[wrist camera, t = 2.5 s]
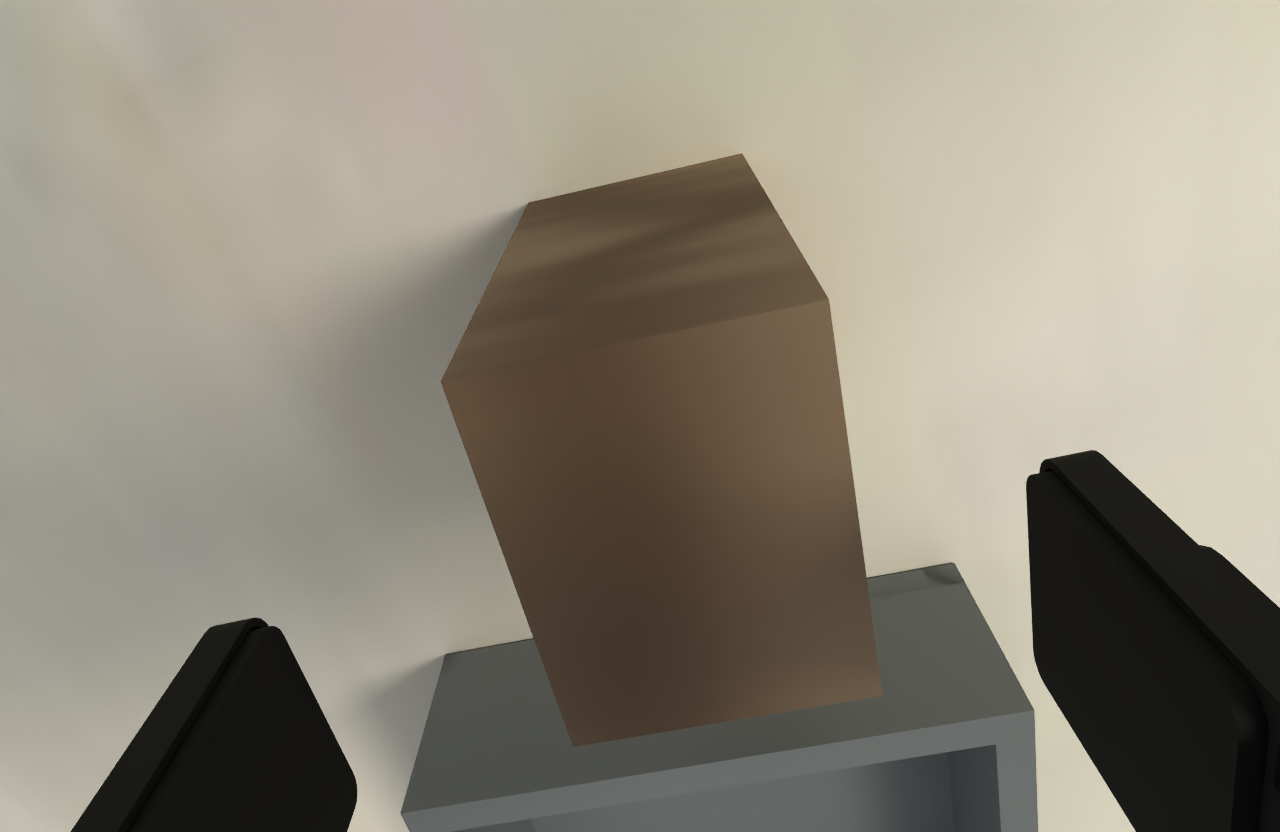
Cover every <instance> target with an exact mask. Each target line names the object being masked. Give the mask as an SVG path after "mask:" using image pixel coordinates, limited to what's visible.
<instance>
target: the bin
mask: <svg viewBox="0 0 1280 832" xmlns="http://www.w3.org/2000/svg"><path fill="white" fill-rule="evenodd" d="M867 585H868V593H869V600H870V607H871V615H872V622H873V629H874V637H875V644H876V652H877V659H878V666H879V674H880V681H881V689H882V696H878V697H872V698H866V699H860V700H854V701H848V702H842V703H836V704H830V705H824V706H818V707H812V708H806V709H800V710H794V711H788V712H782V713H776V714H770V715H764V716H758V717H752V718H746V719H740V720H734V721H728V722H722V723H716V724H710V725H704V726H698V727H692V728H686V729H680V730H674V731H668V732H662V733H656V734H650V735H644V736H638V737H632V738H626V739H620V740H614V741H608V742H602V743H596V744H590V745H584V746H578V747H573V746H572V743H571V740H570V737H569V734H568V732H567V729H566V726H565V723H564V721H563V718H562V715H561V712H560V710H559V707H558V704H557V701H556V699H555V696H554V693H553V690H552V687H551V685H550V682H549V679H548V676H547V674H546V671H545V668H544V665H543V663H542V660H541V657H540V654H539V651H538V649H537V646H536V643H535V640H534V639H530V640H525V641H519V642H514V643H508V644H503V645H497V646H492V647H486V648H481V649H475V650H469V651H464V652H458V653H453V654H447V655H445V659H444V662H443V666H442V669H441V673H440V676H439V680H438V683H437V687H436V690H435V694H434V697H433V701H432V704H431V708H430V711H429V715H428V718H427V722H426V725H425V729H424V733H423V736H422V740H421V743H420V747H419V750H418V754H417V757H416V761H415V764H414V768H413V771H412V775H411V778H410V782H409V785H408V789H407V792H406V796H405V799H404V803H403V807H402V810H401V815H402V817H403V819H404V821H405V823H406V825H407V827H408V829H409V831H410V832H1038V816H1037V784H1036V752H1035V720H1034V709H1033V707H1032V705H1031V703H1030V702H1029V700H1028V698H1027V696H1026V694H1025V692H1024V690H1023V689H1022V687H1021V685H1020V683H1019V681H1018V679H1017V678H1016V676H1015V674H1014V672H1013V670H1012V668H1011V667H1010V665H1009V663H1008V661H1007V659H1006V657H1005V655H1004V654H1003V652H1002V650H1001V648H1000V646H999V644H998V643H997V641H996V639H995V637H994V635H993V633H992V632H991V630H990V628H989V626H988V624H987V622H986V620H985V619H984V617H983V615H982V613H981V611H980V609H979V608H978V606H977V604H976V602H975V600H974V598H973V597H972V595H971V593H970V591H969V589H968V587H967V585H966V584H965V582H964V580H963V578H962V576H961V574H960V573H959V571H958V569H957V567H956V565H955V563H951V564H945V565H940V566H934V567H929V568H923V569H918V570H912V571H907V572H901V573H895V574H890V575H884V576H879V577H873V578H868V579H867Z"/></svg>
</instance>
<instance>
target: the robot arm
mask: <svg viewBox="0 0 1280 832" xmlns="http://www.w3.org/2000/svg"><path fill="white" fill-rule="evenodd" d="M1026 492H1027V515H1028V538H1029V561H1030V585H1031V608H1032V631H1033V651H1034V657H1035V662H1036V665H1037V668H1038V671H1039V674H1040V676H1041V678H1042V680H1043V682H1044V684H1045V686H1046V687H1047V689H1048V690H1049V692H1050V694H1051V695H1052V697H1053V698H1054V700H1055V702H1056V703H1057V705H1058V707H1059V708H1060V710H1061V711H1062V713H1063V715H1064V716H1065V718H1066V719H1067V721H1068V723H1069V724H1070V726H1071V727H1072V729H1073V731H1074V732H1075V734H1076V736H1077V737H1078V739H1079V740H1080V742H1081V744H1082V745H1083V747H1084V748H1085V750H1086V752H1087V753H1088V755H1089V756H1090V758H1091V760H1092V761H1093V763H1094V765H1095V766H1096V768H1097V769H1098V771H1099V773H1100V774H1101V776H1102V777H1103V779H1104V781H1105V782H1106V784H1107V786H1108V787H1109V789H1110V790H1111V792H1112V794H1113V795H1114V797H1115V798H1116V800H1117V802H1118V803H1119V805H1120V806H1121V808H1122V810H1123V811H1124V813H1125V815H1126V816H1127V818H1128V819H1129V821H1130V823H1131V824H1132V826H1133V827H1134V829H1135V831H1136V832H1280V608H1279V607H1278V606H1277V605H1276V604H1275V603H1274V602H1273V601H1271V600H1270V599H1269V598H1268V597H1267V596H1266V595H1265V594H1264V593H1263V592H1262V591H1261V590H1259V589H1258V588H1257V587H1256V586H1255V585H1254V584H1253V583H1252V582H1251V581H1250V580H1249V579H1247V578H1246V577H1245V576H1244V575H1243V574H1242V573H1241V572H1240V571H1239V570H1238V569H1237V568H1235V567H1234V566H1233V565H1232V564H1231V563H1230V562H1229V561H1228V560H1227V559H1226V558H1225V557H1223V556H1222V555H1221V554H1219V553H1218V552H1217V551H1215V550H1214V549H1212V548H1211V547H1206V546H1202V545H1198V544H1197V543H1196V542H1195V541H1194V540H1193V539H1192V538H1190V537H1189V536H1188V535H1187V534H1186V533H1185V532H1184V531H1183V530H1182V529H1181V528H1180V527H1179V526H1178V525H1177V524H1175V523H1174V522H1173V521H1172V520H1171V519H1170V518H1169V517H1168V516H1167V515H1166V514H1165V513H1164V512H1163V511H1162V510H1161V509H1159V508H1158V507H1157V506H1156V505H1155V504H1154V503H1153V502H1152V501H1151V500H1150V499H1149V498H1148V497H1147V496H1146V495H1144V494H1143V493H1142V492H1141V491H1140V490H1139V489H1138V488H1137V487H1136V486H1135V485H1134V484H1133V483H1132V482H1131V481H1130V480H1128V479H1127V478H1126V477H1125V476H1124V475H1123V474H1122V473H1121V472H1120V471H1119V470H1118V469H1117V468H1116V467H1115V466H1114V465H1112V464H1111V463H1110V462H1109V461H1108V460H1107V459H1106V458H1105V457H1104V456H1103V455H1102V454H1100V453H1099V452H1097V451H1094V450H1090V451H1085V452H1080V453H1075V454H1070V455H1065V456H1060V457H1055V458H1050V459H1045V460H1044V461H1043V462H1042V463H1041V467H1040V473H1038V474H1033V475H1030V476H1029V477H1028V479H1027V483H1026ZM356 802H357V784H356V779H355V776H354V774H353V772H352V770H351V768H350V766H349V764H348V762H347V760H346V758H345V756H344V754H343V752H342V750H341V748H340V746H339V744H338V742H337V740H336V738H335V736H334V734H333V732H332V730H331V728H330V726H329V724H328V722H327V720H326V718H325V716H324V714H323V712H322V710H321V708H320V706H319V704H318V702H317V700H316V698H315V696H314V694H313V692H312V690H311V688H310V686H309V684H308V682H307V680H306V678H305V676H304V674H303V672H302V670H301V668H300V666H299V664H298V662H297V660H296V658H295V656H294V654H293V653H292V651H291V649H290V647H289V645H288V643H287V641H286V639H285V637H284V635H283V633H282V632H281V630H280V629H278V628H277V627H275V626H268V624H267V623H266V622H265V621H263V620H262V619H260V618H251V619H246V620H241V621H236V622H231V623H226V624H221V625H216V626H213V627H211V628H209V629H208V630H207V631H206V632H205V633H204V635H203V636H202V638H201V639H200V641H199V642H198V644H197V645H196V647H195V648H194V650H193V651H192V653H191V654H190V656H189V657H188V659H187V660H186V662H185V663H184V665H183V666H182V668H181V669H180V671H179V672H178V673H177V675H176V676H175V678H174V679H173V681H172V682H171V684H170V685H169V687H168V688H167V690H166V691H165V693H164V694H163V696H162V697H161V699H160V700H159V702H158V703H157V705H156V706H155V708H154V709H153V711H152V712H151V713H150V715H149V716H148V718H147V719H146V721H145V722H144V724H143V725H142V727H141V728H140V730H139V731H138V733H137V734H136V736H135V737H134V739H133V740H132V742H131V743H130V745H129V746H128V748H127V749H126V751H125V752H124V753H123V755H122V756H121V758H120V759H119V761H118V762H117V764H116V765H115V767H114V768H113V770H112V771H111V773H110V774H109V776H108V777H107V779H106V780H105V782H104V783H103V785H102V786H101V788H100V789H99V791H98V792H97V793H96V795H95V796H94V798H93V799H92V801H91V802H90V804H89V805H88V807H87V808H86V810H85V811H84V813H83V814H82V816H81V817H80V819H79V820H78V822H77V823H76V825H75V826H74V828H73V829H72V831H71V832H347V830H348V827H349V824H350V821H351V818H352V815H353V812H354V809H355V806H356Z"/></svg>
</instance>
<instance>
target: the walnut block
mask: <svg viewBox="0 0 1280 832" xmlns="http://www.w3.org/2000/svg"><path fill="white" fill-rule="evenodd" d="M441 383H442V386H443V389H444V392H445V394H446V397H447V400H448V403H449V405H450V408H451V411H452V414H453V416H454V419H455V422H456V425H457V427H458V430H459V433H460V436H461V439H462V441H463V444H464V447H465V450H466V452H467V455H468V458H469V461H470V463H471V466H472V469H473V472H474V474H475V477H476V480H477V483H478V486H479V488H480V491H481V494H482V497H483V499H484V502H485V505H486V508H487V510H488V513H489V516H490V519H491V521H492V524H493V527H494V530H495V533H496V535H497V538H498V541H499V544H500V546H501V549H502V552H503V555H504V557H505V560H506V563H507V566H508V569H509V571H510V574H511V577H512V580H513V582H514V585H515V588H516V591H517V593H518V596H519V599H520V602H521V604H522V607H523V610H524V613H525V616H526V618H527V621H528V624H529V627H530V629H531V632H532V635H533V638H534V640H535V643H536V646H537V649H538V651H539V654H540V657H541V660H542V663H543V665H544V668H545V671H546V674H547V676H548V679H549V682H550V685H551V687H552V690H553V693H554V696H555V699H556V701H557V704H558V707H559V710H560V712H561V715H562V718H563V721H564V723H565V726H566V729H567V732H568V734H569V737H570V740H571V743H572V746H573V747H578V746H584V745H590V744H596V743H602V742H608V741H614V740H620V739H626V738H632V737H638V736H644V735H650V734H656V733H662V732H668V731H674V730H680V729H686V728H692V727H698V726H704V725H710V724H716V723H722V722H728V721H734V720H740V719H746V718H752V717H758V716H764V715H770V714H776V713H782V712H788V711H794V710H800V709H806V708H812V707H818V706H824V705H830V704H836V703H842V702H848V701H854V700H860V699H866V698H872V697H878V696H882V689H881V681H880V674H879V666H878V659H877V652H876V644H875V637H874V629H873V622H872V615H871V607H870V600H869V593H868V585H867V578H866V570H865V563H864V556H863V548H862V541H861V534H860V526H859V519H858V511H857V504H856V497H855V489H854V482H853V474H852V467H851V460H850V452H849V445H848V438H847V430H846V423H845V415H844V408H843V401H842V393H841V386H840V379H839V371H838V364H837V356H836V349H835V342H834V334H833V327H832V319H831V312H830V305H829V299H828V297H827V295H826V294H825V292H824V290H823V289H822V287H821V285H820V284H819V282H818V280H817V279H816V277H815V275H814V274H813V272H812V270H811V269H810V267H809V265H808V264H807V262H806V260H805V259H804V257H803V255H802V253H801V252H800V250H799V248H798V247H797V245H796V243H795V242H794V240H793V238H792V237H791V235H790V233H789V232H788V230H787V228H786V227H785V225H784V223H783V222H782V220H781V218H780V216H779V215H778V213H777V211H776V210H775V208H774V206H773V205H772V203H771V201H770V200H769V198H768V196H767V195H766V193H765V191H764V190H763V188H762V186H761V185H760V183H759V181H758V179H757V178H756V176H755V174H754V173H753V171H752V169H751V168H750V166H749V164H748V163H747V161H746V159H745V158H744V156H743V154H738V155H733V156H729V157H725V158H720V159H716V160H712V161H707V162H703V163H699V164H694V165H690V166H686V167H681V168H677V169H673V170H668V171H664V172H660V173H655V174H651V175H647V176H642V177H638V178H634V179H629V180H625V181H621V182H616V183H612V184H608V185H603V186H599V187H595V188H591V189H586V190H582V191H578V192H573V193H569V194H565V195H560V196H556V197H552V198H547V199H543V200H539V201H534V202H530V203H528V205H527V207H526V209H525V211H524V213H523V215H522V217H521V219H520V221H519V223H518V225H517V227H516V229H515V232H514V234H513V236H512V238H511V240H510V242H509V244H508V246H507V248H506V250H505V252H504V254H503V256H502V258H501V260H500V262H499V264H498V266H497V268H496V270H495V272H494V274H493V276H492V278H491V280H490V283H489V285H488V287H487V289H486V291H485V293H484V295H483V297H482V299H481V301H480V303H479V305H478V307H477V309H476V311H475V313H474V315H473V317H472V319H471V321H470V323H469V325H468V327H467V329H466V331H465V333H464V336H463V338H462V340H461V342H460V344H459V346H458V348H457V350H456V352H455V354H454V356H453V358H452V360H451V362H450V364H449V366H448V368H447V370H446V372H445V374H444V376H443V378H442V380H441Z"/></svg>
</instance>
